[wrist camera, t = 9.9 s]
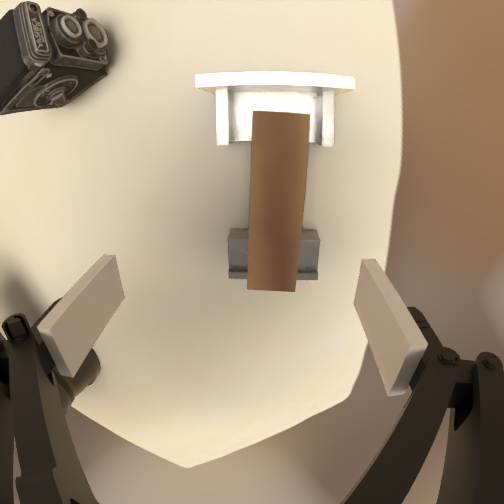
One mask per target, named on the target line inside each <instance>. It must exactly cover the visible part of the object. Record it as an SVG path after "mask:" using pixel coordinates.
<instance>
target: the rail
mask: <svg viewBox="0 0 504 504" xmlns="http://www.w3.org/2000/svg"><path fill="white" fill-rule="evenodd" d="M310 116H311V114H303V113H290V112H274V111H253V112H252V142H251V174H250V207H249V241H248V277H247V289H252V290H270V291H289V292H295V286H296V278H297V269H298V260H299V251H300V242H301V232H302V222H303V211H304V200H305V188H306V176H307V163H308V149H309V133H310Z"/></svg>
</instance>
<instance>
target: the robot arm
mask: <svg viewBox="0 0 504 504" xmlns="http://www.w3.org/2000/svg"><path fill="white" fill-rule="evenodd" d="M124 298H125V296H124V292H123V288H122V284H121V280H120V275H119V271H118V266H117V262H116V257H115V255H103V256H102V257H101V258H100V259H99V260H98V261H97V262H96V263H95V264H94V265H93V266H92V267H91V268H90V269H89V270H88V271H87V272H86V273H85V274H84V275H83V276H82V277H81V278H80V279H79V280H78V282H77V283H76V284H75V285H74V286H73V287H72V288H71V289H70V290H69V291H68V292H67V293H66V294H65V295H64V297H61V298H60V299H58V300H57V301H55V302H54V303H53V304H52V305H51V306H50V307H49V309H48V310H47V311H46V312H45V313H44V315H42V316H41V317H40V319H39V320H38V321H37V322H36V323H35V324H34V325H33V327H32V328H30V326H29V323H28V321H27V319H26V317H25V315H23V314H14V315H12V316H10V317H8V318H7V319H6V320H5V321H4V322H3V324H2V328H3V330H4V332H5V334H6V336H7V338H8V340H6V339H5V338H4V337H3V335H2V334H1V332H0V504H14V498H13V453H14V442H16V448H17V453H18V458H19V463H20V468H21V474H22V475H21V477H17V478H16V480H15V482H16V488H17V492H18V496H19V500H20V504H99V503H98V502H97V500H96V499H95V497H94V495H93V493H92V491H91V489H90V486H89V484H88V482H87V479H86V477H85V474H84V472H83V469H82V467H81V464H80V461H79V459H78V456H77V453H76V450H75V448H74V445H73V442H72V439H71V435H70V432H69V429H68V426H67V423H66V419H65V415H66V413H67V411H68V409H69V407H70V406H71V404H72V402H73V400H74V398H75V397H76V396H77V395H78V394H79V393H80V392H82V391H83V390H84V389H85V388H86V387H87V386H89V385H91V384H92V383H93V382H94V381H95V379H96V377H97V376H98V374H99V372H100V364H99V360H98V358H97V356H96V354H95V353H94V351H93V350H92V346H93V345H94V343H95V342H96V340H97V339H98V337H99V335H100V334H101V332H102V331H103V329H104V328H105V326H106V325H107V323H108V322H109V320H110V319H111V317H112V316H113V314H114V313H115V311H116V310H117V308H118V307H119V305H120V304H121V302H122V301H123V299H124ZM354 306H355V308H356V311H357V313H358V316H359V318H360V321H361V323H362V326H363V328H364V331H365V334H366V336H367V339H368V342H369V344H370V347H371V350H372V352H373V355H374V358H375V361H376V363H377V366H378V369H379V372H380V375H381V378H382V380H383V383H384V386H385V389H386V392H387V395H388V396H394V395H401V394H405V392H406V390H407V388H408V386H409V384H410V387H411V389H412V394H411V396H410V397H409V399H408V401H407V403H406V405H405V406H404V409H403V411H402V412H401V414H400V416H399V418H398V420H397V422H396V424H395V425H394V427H393V428H392V430H391V432H390V434H389V435H388V437H387V438H386V440H385V442H384V443H383V445H382V447H381V448H380V450H379V451H378V453H377V454H376V456H375V457H374V459H373V461H372V462H371V463H370V465H369V466H368V468H367V469H366V471H365V472H364V473H363V475H362V476H361V478H360V479H359V480H358V482H357V483H356V484H355V486H354V487H353V488H352V490H351V491H350V492H349V494H348V495H347V496H346V498H345V499H344V500H343V501H342V503H341V504H401V503H402V502H403V500H404V499H405V497H406V495H407V493H408V492H409V490H410V488H411V486H412V485H413V483H414V481H415V479H416V477H417V475H418V473H419V471H420V469H421V467H422V465H423V463H424V461H425V459H426V457H427V455H428V453H429V451H430V448H431V446H432V444H433V442H434V439H435V437H436V435H437V432H438V430H439V427H440V425H441V422H442V420H443V417H444V415H445V412H446V409H447V408H450V422H449V433H448V442H447V449H446V456H445V463H444V470H443V475H442V480H441V485H440V490H439V495H438V499H437V503H436V504H504V371H503V365H502V363H501V360H500V359H499V358H498V357H497V356H496V355H494V354H492V353H489V352H482V353H480V354H479V355H478V356H477V358H476V360H475V361H469V360H461V359H460V357H459V355H458V354H457V353H456V352H455V351H454V350H452V349H450V348H446V347H443V346H442V344H441V342H440V341H439V339H438V337H437V336H436V334H435V333H434V331H433V329H432V328H430V325H429V323H428V322H427V320H426V319H425V317H424V315H423V314H422V313H421V312H420V311H419V310H418V309H416V308H415V307H406V306H405V304H404V303H403V301H402V299H401V298H400V296H399V295H398V293H397V291H396V290H395V288H394V287H393V285H392V284H391V282H390V281H389V279H388V277H387V276H386V274H385V273H384V271H383V270H382V268H381V267H380V265H379V264H378V262H377V261H376V259H362V261H361V267H360V273H359V279H358V284H357V289H356V294H355V299H354Z"/></svg>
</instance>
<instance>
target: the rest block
mask: <svg viewBox="0 0 504 504" xmlns="http://www.w3.org/2000/svg"><path fill="white" fill-rule="evenodd" d="M248 241H249V229H231V231H230V234H229V237H228V253H229V272H228V274H229V278H234V279H247V277H248ZM319 245H320V239H319V236H318V233H317V231H316V230H302V232H301V242H300V251H299V260H298V269H297V278H296V280H317V279H318V272H317V267H318V256H319Z"/></svg>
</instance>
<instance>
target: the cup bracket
mask: <svg viewBox="0 0 504 504" xmlns="http://www.w3.org/2000/svg"><path fill="white" fill-rule="evenodd" d="M196 87H197V88H199V89H202V90H205V91H208V92H211V93H213V94H216V124H217V145H229V144H231V143H232V142H234V141H252V112H253V111H274V112H290V113H303V114H311V116H310V133H309V142H316V143H318V144H319V145H321V146H327V147H333V146H334V96H335V95H338V94H341V93H344V92H348V91H351V90H355V77H349V76H340V75H330V74H317V73H300V72H231V73H214V74H202V75H196Z"/></svg>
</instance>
